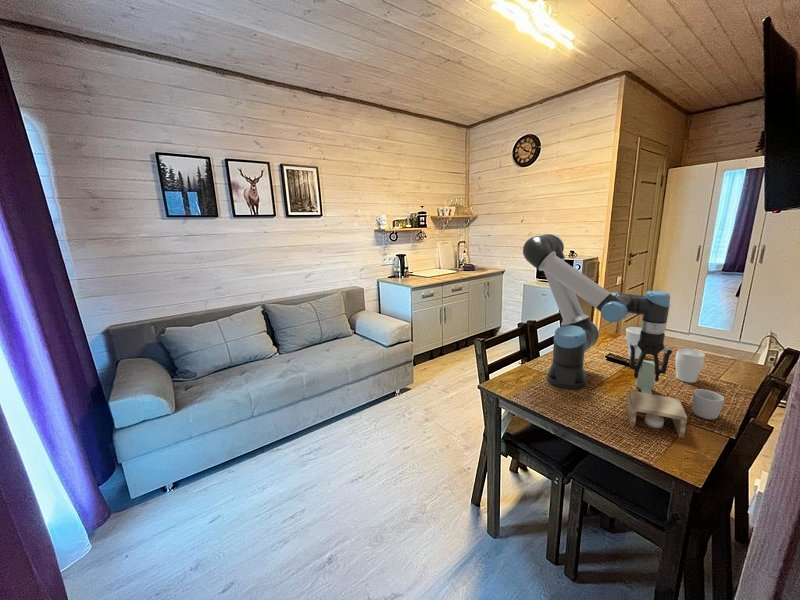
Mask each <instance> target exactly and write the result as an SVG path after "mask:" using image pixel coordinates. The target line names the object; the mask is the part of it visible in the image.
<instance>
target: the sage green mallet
mask: <svg viewBox="0 0 800 600" xmlns="http://www.w3.org/2000/svg"><path fill="white" fill-rule="evenodd" d="M640 370H641V376H640V383H639V387H638V390H640V392H642V393H648V394H653V392H652V390H653V389H652V383H653V376H654V371H655V364H654V360H645V359H644V360H643V362H642V365H641V367H640Z"/></svg>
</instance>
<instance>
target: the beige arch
mask: <svg viewBox="0 0 800 600" xmlns="http://www.w3.org/2000/svg"><path fill="white" fill-rule="evenodd" d="M626 409H627V414H628V419H629V426H630V427H632V428H635V426H636V421H637V420H636V419H637V412H640V413H645V414H648V413H649V414H654V415H659V416H661V417H663V418H665V417H666V418H670V419H672V422H673V425H674V427H675V431H676V433H677V436H678V437H679V438H685V432H686V428H687V427H686V426H687V421H688V416H687V414H686V411H685V409H684V406H683V405H682V402H681V399H680V398H677V397H669V396H663V395H658V394H653V393H652V394H648V393H642V392H641V391H635V390H632V389H631V390H629V394H628V401H627V407H626Z"/></svg>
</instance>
